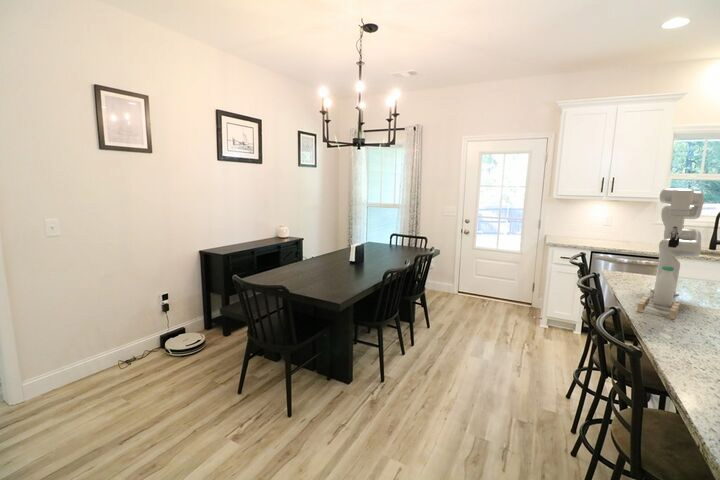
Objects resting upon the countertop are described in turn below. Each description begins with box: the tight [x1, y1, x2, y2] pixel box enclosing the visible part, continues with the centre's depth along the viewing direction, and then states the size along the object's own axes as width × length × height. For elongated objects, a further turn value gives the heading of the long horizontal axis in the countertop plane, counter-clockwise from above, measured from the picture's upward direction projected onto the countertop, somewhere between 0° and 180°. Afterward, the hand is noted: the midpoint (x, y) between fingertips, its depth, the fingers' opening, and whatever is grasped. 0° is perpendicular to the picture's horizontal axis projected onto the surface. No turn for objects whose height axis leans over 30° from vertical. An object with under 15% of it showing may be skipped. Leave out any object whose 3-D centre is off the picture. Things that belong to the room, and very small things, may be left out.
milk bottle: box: [652, 266, 675, 306], centre depth 180 cm, size 8×8×20 cm
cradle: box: [636, 294, 682, 320], centre depth 172 cm, size 20×14×4 cm
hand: (673, 246), depth 183 cm, fingers open, 8 cm apart
